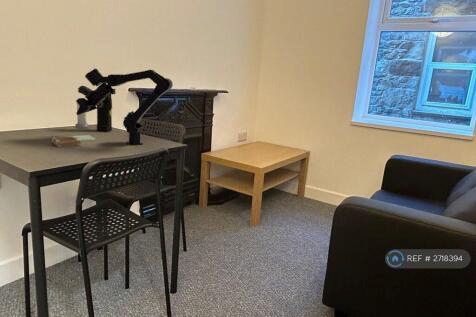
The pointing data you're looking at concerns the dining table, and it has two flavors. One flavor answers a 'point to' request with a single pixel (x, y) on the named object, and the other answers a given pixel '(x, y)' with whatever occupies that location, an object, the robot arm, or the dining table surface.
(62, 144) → the brown wooden square tray
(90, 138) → the pad
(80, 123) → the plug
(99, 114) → the portable radio
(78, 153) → the dining table surface
